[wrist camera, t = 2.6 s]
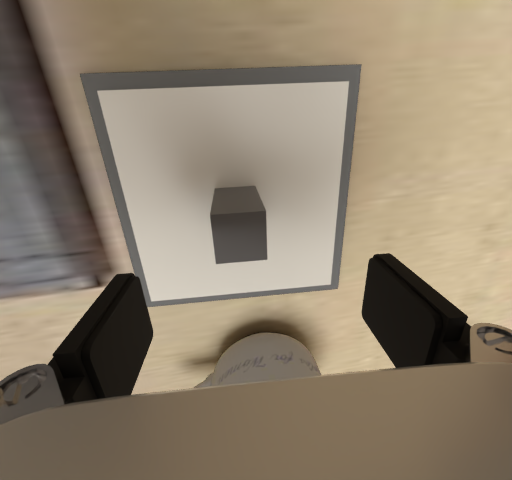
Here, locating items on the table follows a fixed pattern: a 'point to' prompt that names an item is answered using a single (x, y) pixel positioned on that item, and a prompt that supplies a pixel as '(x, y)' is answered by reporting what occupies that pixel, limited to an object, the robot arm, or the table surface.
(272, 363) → the teacup
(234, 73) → the mat
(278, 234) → the square lid with handle
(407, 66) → the table surface
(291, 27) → the table surface
